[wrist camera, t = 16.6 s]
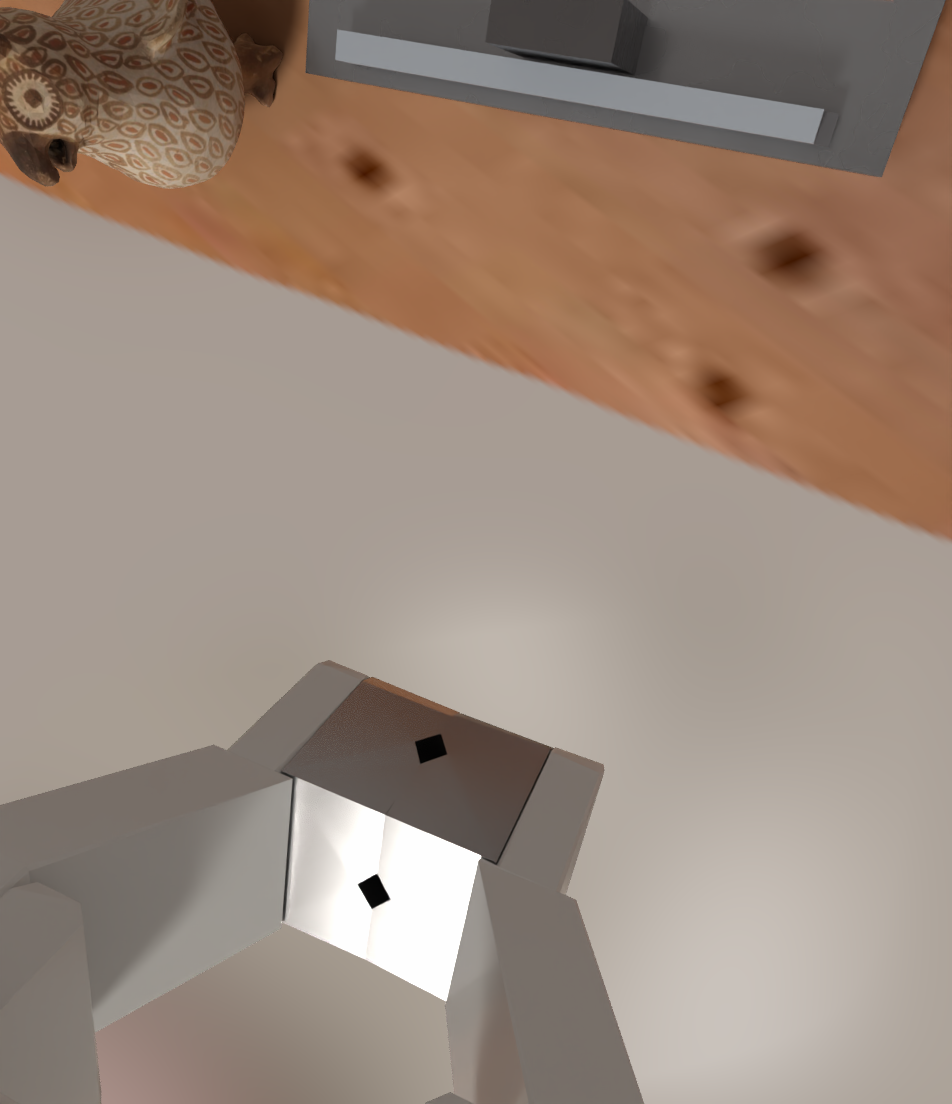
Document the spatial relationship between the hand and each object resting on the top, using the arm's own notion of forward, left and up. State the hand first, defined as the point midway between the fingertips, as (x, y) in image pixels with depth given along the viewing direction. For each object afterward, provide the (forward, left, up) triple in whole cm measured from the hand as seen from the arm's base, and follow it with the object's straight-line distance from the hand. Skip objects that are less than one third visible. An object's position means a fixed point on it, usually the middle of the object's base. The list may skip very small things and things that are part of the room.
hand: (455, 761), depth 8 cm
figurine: (+26, -5, -31) cm, 41 cm away
